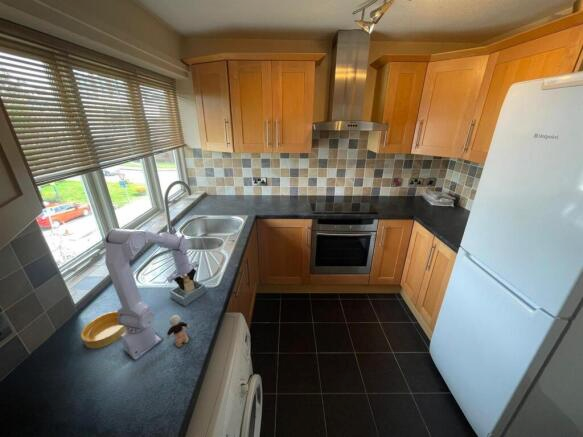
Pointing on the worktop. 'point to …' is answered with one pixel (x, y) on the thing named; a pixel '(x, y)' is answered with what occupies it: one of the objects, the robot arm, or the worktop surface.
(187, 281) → the toy
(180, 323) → the grandmother figurine
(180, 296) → the tub
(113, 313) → the bowl
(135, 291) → the robot arm
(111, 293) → the worktop surface
